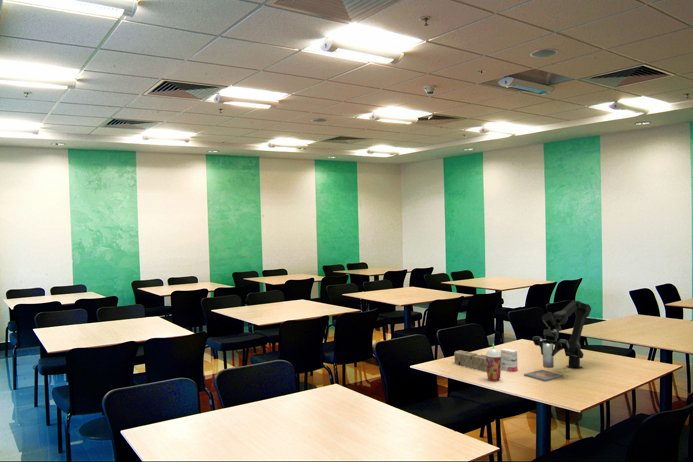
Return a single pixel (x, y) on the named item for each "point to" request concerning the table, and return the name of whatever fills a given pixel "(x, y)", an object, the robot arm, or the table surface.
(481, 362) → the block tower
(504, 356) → the ink box
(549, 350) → the steel sleeve
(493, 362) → the smoothie
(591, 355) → the table surface
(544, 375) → the rubber mat
